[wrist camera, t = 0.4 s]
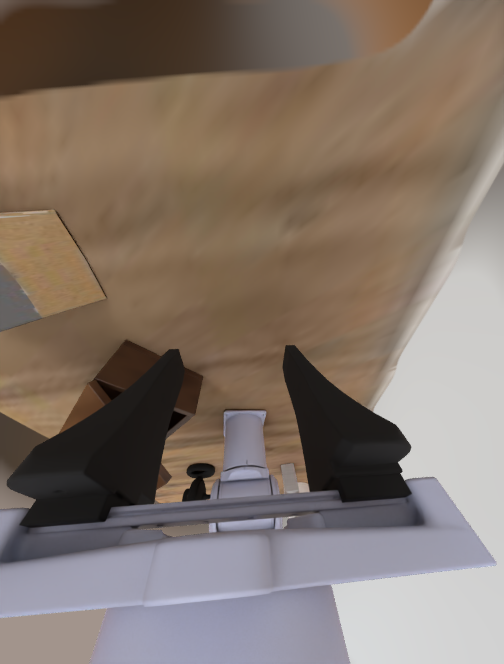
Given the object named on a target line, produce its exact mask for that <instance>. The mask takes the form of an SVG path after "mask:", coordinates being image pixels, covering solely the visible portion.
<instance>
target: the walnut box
mask: <svg viewBox="0 0 504 664" xmlns="http://www.w3.org/2000/svg"><path fill="white" fill-rule="evenodd" d="M160 358H161V356H159V355H157V354H155V353H153V352H151V351H148V350H146V349H144V348H142V347H140V346H138V345H136V344H134V343H132V342H130V341H127V340H125V342H124V343H123V344H122V345H121V346H120V348H119V349H118V350H117V351H116V352H115V354H114V355H113V356H112V357H111V358H110V360H109V361H108V362H107V363H106V365H105V366H104V367H103V368H102V369H101V371H100V372H99V373H98V374H97V375H96V377H95V378H94V380H96V381H97V383H98V384H99V385H100V386H101V388H102V389H103V390H104V392H105V393H106V394H107V395H108V397H109V398H110V399H111V400H113V399H115V398H116V397H117V396H119V395H120V394H121V393H123V392H124V391H125V390H126V389H128V388H129V387H130V386H131V385H132V384H134V383H135V382H136V381H137V380H138V379H139V378H140V377H141V376H142V375H144V374H145V373H146V372H147V371H148V370H149V369H150V368H151V367H152V366H153V365H154V364H155V363H156V362H157V361H158V360H159V359H160ZM184 369H185V373H184V379H183V383H182V387H181V390H180V393H179V396H178V399H177V402H176V405H175V407H174V410H173V413H172V416H171V420H170V423H169V427H168V431H167V436H166V439H167V438H168V437H169V436H170V435H171V434H173V433H174V432H175V431H176V430H177V429H179V428H180V427H181V426H182V425H184V424H185V423H186V422H187V421H188V420H190V419H191V418H192V417H193V416H194V415H195V413H196V409H197V404H198V399H199V394H200V389H201V384H202V380H203V376H201V375H199V374H197V373H195V372H193V371H190V370H188V369H186V368H184ZM94 380H93V381H94Z"/></svg>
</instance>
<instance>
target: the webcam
mask: <svg viewBox="0 0 504 664" xmlns="http://www.w3.org/2000/svg"><path fill="white" fill-rule="evenodd" d="M195 471H204V472H195ZM214 473H215V469H214V467H213V466H211V465H207V464H195V465H192V466H190V467H189V468H188V469H187V475H188V476H190V477H192V478H197V479H195V480H194V481H193V482H192V484H191V486H190V489H186V490H185V492H184V494H183V499H182V502H186V501H199V500H206V499H210V497H211V495H208V494H206V488H205V483H204V481H203V478H208V477H211V476H212V475H213V474H214Z"/></svg>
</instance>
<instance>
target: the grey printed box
mask: <svg viewBox="0 0 504 664" xmlns="http://www.w3.org/2000/svg"><path fill="white" fill-rule="evenodd" d="M281 470H282V477H283V483H284V489H285V494H291V493H299V487H298V483H297V478H296V473H295V468H294V463H291V464H283V465H281ZM295 517H297V516H295Z"/></svg>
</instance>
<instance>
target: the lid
mask: <svg viewBox="0 0 504 664" xmlns="http://www.w3.org/2000/svg"><path fill="white" fill-rule="evenodd" d="M110 401H112V400H111V399H110V398H109V397H108V395H107V394H106V393H105V392H104V390H103V389H102V388H101V386H100V385H99V384H98V383H97V381H96V380H94V381H92V382H89V383H88V384H87V385H86V387H85V389H84V391H83V392H82V394H81V396H80V397H79V399H78V401H77V403H76V404H75V406H74V408H73V410H72V411H71V413H70V415H69V417H68V418H67V420H66V422H65V424H64V425H63V427H62V429H61V431H60V432H59V433H61V432H63V431H65V430H67V429H68V428H70V427H72V426H74V425H75V424H77V423H78V422H80V421H82V420H83V419H85V418H87V417H88V416H90V415H91V414H93V413H94V412H96V411H97V410H99V409H100V408H102V407H103V406H105V405H106V404H108V403H109V402H110ZM171 477H172V476H171V475H170V474H169V473H168V471H167V470H166V469H165V468H164V466H163V465H162V464H161V465H160V470H159V476H158V482H157V488H156V490H157V489H159V488H160V487H162V486H164V485H165V484H167V483H168V481H169V480H170V479H171Z"/></svg>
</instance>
